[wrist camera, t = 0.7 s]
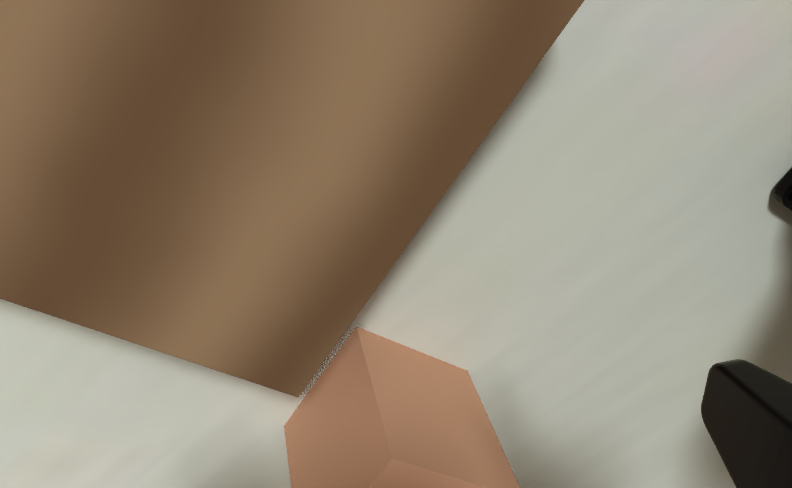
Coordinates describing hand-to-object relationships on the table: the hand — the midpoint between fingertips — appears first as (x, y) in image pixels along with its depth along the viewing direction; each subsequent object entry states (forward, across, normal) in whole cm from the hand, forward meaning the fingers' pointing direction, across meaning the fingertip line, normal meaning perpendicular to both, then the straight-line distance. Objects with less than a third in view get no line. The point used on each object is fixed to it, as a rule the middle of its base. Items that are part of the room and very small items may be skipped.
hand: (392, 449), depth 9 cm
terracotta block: (+13, -1, +12) cm, 18 cm away
